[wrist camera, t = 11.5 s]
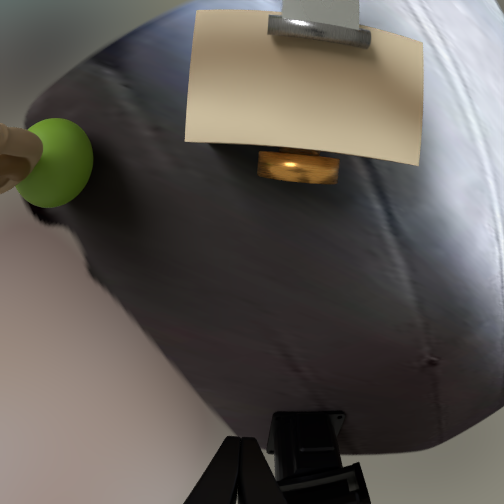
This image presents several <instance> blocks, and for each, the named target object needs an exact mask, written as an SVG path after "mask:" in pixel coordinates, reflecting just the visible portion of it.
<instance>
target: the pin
mask: <svg viewBox="0 0 504 504" xmlns="http://www.w3.org/2000/svg"><path fill="white" fill-rule="evenodd" d="M339 161H340V159H336V158H329V157H322V156H320V151H319V150H310V149H301V148H291V147H280V149H279V152H270V151H259V156H258V171H257V175H258V176H261V177H265V178H270V179H277V180H284V181H293V182H302V183H314V184H337V181H338V171H339Z"/></svg>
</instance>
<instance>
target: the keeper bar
mask: <svg viewBox="0 0 504 504" xmlns="http://www.w3.org/2000/svg"><path fill="white" fill-rule="evenodd" d="M267 35H277V36H288V37H297V38H305V39H313V40H319V41H326V42H332V43H337V44H343V45H348V46H353V47H358V48H362V49H368V48H369V47H370V44H371V31H370V30H367V29H363V28H359V0H282V9H281V15H271V14H269V16H268V30H267Z"/></svg>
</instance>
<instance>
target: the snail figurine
mask: <svg viewBox="0 0 504 504" xmlns="http://www.w3.org/2000/svg"><path fill="white" fill-rule="evenodd" d="M92 167H93V151H92V146H91V143H90V141H89V138H88V137H87V135H86V133H85V132H84V131H83V130H82V129H81V128H80V127H79V126H78V125H76V124H75V123H73V122H71V121H69V120H66V119H60V118H52V119H46V120H43V121H41V122H38V123H37V124H35V125H33V126H32V127H30V128H29V129H28V130H25V129H22V128H17V127H7V126H6V125H4V124H2V123H0V194H2V193H4V192H6V191H8V190H10V189H12V188H13V187H14V186H15V187H16V188H17V190H18V192H19V193H20V194H21V196H22V197H23V198H24V199H26V200H27V201H28V202H30V203H32V204H34V205H36V206H39V207H45V208H51V207H57V206H61V205H64V204H66V203H68V202H69V201H71V200H72V199H74V198H75V197H76V196H77V195H78V194H79V193H80V192H81V191H82V190H83V188H84V187H85V185H86V184H87V182H88V180H89V177H90V175H91V171H92Z"/></svg>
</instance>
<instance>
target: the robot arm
mask: <svg viewBox="0 0 504 504" xmlns="http://www.w3.org/2000/svg"><path fill="white" fill-rule="evenodd" d="M344 419H345V413H344V412H343V411H325V412H275V413H274V414H273V415H272V421H271V427H270V432H269V438H268V443H267V448H266V450H267V453H268V454H274V461H275V477H274V476H273V473H272V471H271V469H270V467H269V465H268V463H267V461H266V460H265V457H264V455H263V453H262V451H261V448H260V446H259V444H258V442H257V440H256V439H255V438H253V437H242V438H240V437H237V436H227V437H226V438H225V439H224V441H223V443H222V445H221V446H220V448H219V449H218V451H217V453H216V454H215V456H214V457H213V459H212V460H211V462H210V464H209V465H208V467H207V468H206V470H205V472H204V473H203V475H202V476H201V478H200V479H199V481H198V482H197V484H196V486H195V487H194V488H193V490H192V492H191V493H190V495H189V496H188V497H187V499H186V500H185V502H184V503H183V504H236V500H237V499H238V504H371V501H370V497H369V493H368V490H367V487H366V483H365V480H364V476H363V473H362V470H361V466H360V463H359V462H357V463H354V464H353V465H350V466H346V467H343V466H342V462H341V457H340V452H339V448H338V443H337V439H336V438H337V435H338V433H339V431H340V428H341V426H342V423H343V421H344ZM240 445H241V446H240ZM237 491H238V496H237Z"/></svg>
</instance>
